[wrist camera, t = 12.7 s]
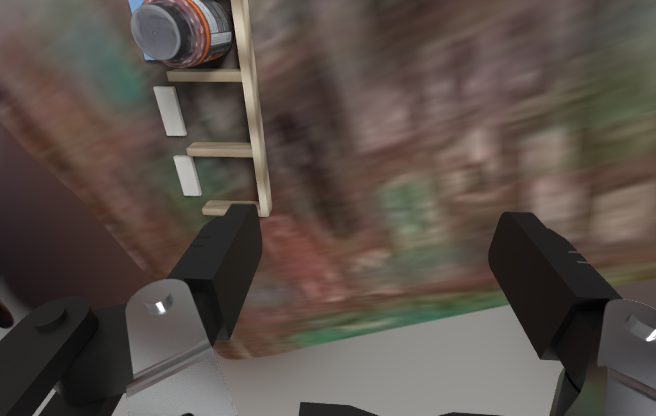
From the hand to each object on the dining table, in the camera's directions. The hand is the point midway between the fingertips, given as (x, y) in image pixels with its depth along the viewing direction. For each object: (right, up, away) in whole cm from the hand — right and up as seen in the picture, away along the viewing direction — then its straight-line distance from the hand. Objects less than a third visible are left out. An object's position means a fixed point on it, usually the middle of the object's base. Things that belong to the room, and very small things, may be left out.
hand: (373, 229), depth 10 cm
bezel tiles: (-21, +13, +29) cm, 38 cm away
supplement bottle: (-15, +21, +24) cm, 35 cm away
